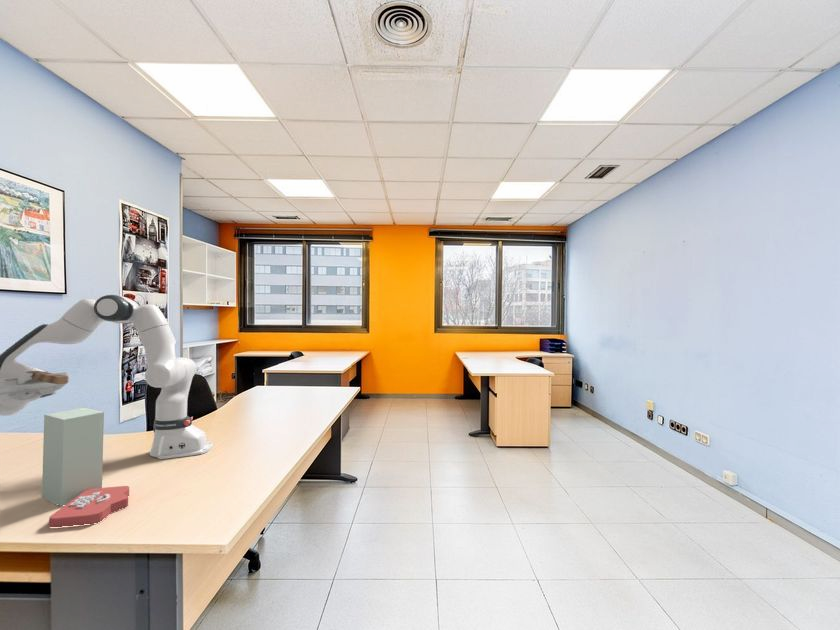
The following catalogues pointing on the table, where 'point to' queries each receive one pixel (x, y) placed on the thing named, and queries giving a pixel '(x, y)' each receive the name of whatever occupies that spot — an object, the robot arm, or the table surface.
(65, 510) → the plaque
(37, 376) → the rod
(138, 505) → the table surface
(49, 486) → the pedestal
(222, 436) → the table surface
